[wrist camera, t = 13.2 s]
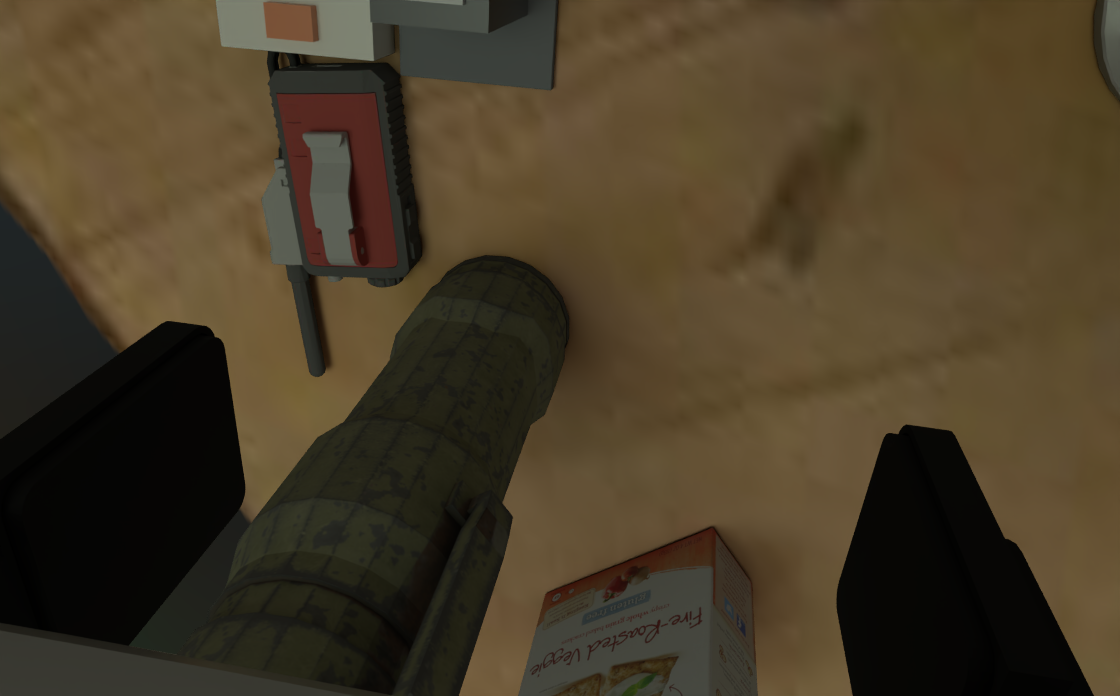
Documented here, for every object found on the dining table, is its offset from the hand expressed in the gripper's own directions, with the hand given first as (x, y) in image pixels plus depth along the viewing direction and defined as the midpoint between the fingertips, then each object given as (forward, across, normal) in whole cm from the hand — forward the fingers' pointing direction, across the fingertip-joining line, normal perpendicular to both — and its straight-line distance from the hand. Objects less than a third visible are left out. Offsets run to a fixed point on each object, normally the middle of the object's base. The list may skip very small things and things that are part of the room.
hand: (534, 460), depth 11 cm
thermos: (+34, +8, +15) cm, 38 cm away
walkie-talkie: (+34, +17, +10) cm, 39 cm away
